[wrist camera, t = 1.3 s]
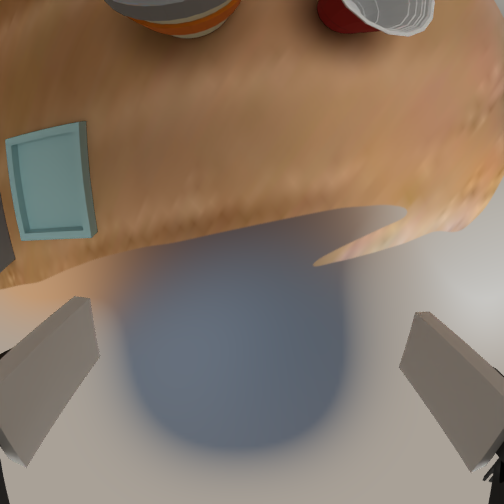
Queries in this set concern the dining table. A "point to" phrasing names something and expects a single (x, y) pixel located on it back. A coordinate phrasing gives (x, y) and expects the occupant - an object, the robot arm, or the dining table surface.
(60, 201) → the tray
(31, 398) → the robot arm
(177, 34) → the reusable coffee cup
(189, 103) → the dining table surface
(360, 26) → the plastic cup
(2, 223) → the deep bin
